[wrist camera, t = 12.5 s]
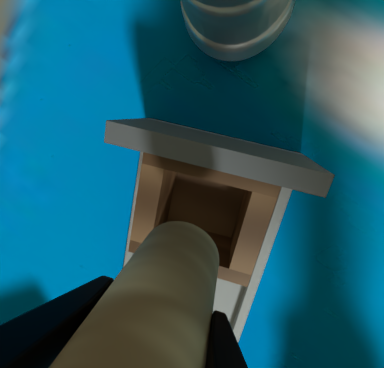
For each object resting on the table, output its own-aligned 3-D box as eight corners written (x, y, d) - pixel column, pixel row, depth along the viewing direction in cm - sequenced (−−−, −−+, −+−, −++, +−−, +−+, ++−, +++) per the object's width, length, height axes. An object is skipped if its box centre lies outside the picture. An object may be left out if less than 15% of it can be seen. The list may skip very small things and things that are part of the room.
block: (245, 246, 21) (247, 287, 16) (152, 220, 21) (128, 251, 17) (271, 165, 18) (282, 182, 14) (167, 139, 19) (144, 148, 15)
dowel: (228, 233, 11) (187, 669, 2) (209, 299, 12) (135, 763, 3) (149, 211, 11) (-130, 519, 3) (137, 278, 12) (-87, 645, 4)
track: (227, 363, 26) (223, 451, 19) (117, 326, 27) (77, 396, 20) (301, 153, 19) (334, 175, 12) (149, 118, 20) (106, 120, 14)
